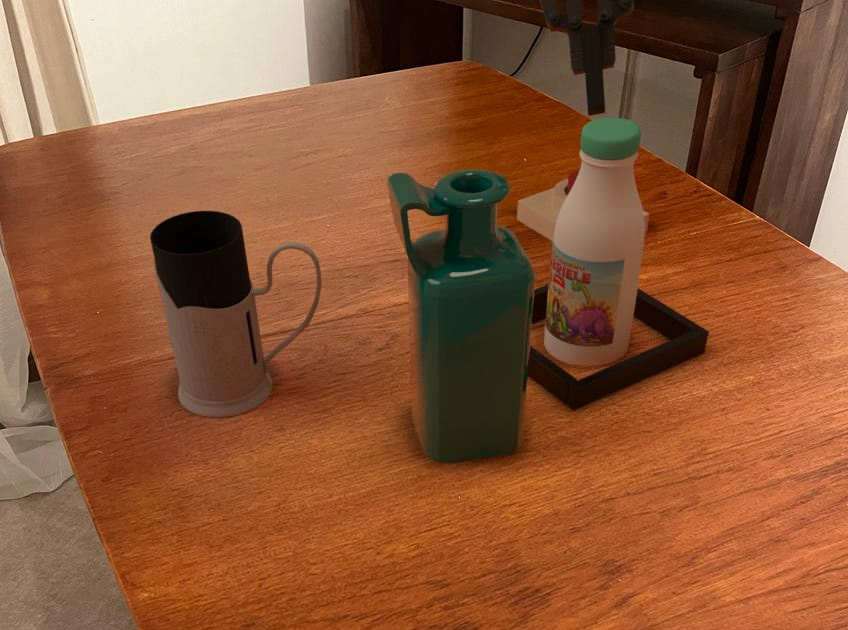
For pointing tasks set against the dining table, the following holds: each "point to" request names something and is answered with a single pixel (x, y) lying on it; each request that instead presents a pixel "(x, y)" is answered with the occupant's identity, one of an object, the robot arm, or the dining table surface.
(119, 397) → the dining table surface
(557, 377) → the black square frame
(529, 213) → the control box
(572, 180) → the stop button
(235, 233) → the glass holder
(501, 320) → the pitcher
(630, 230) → the milk bottle
